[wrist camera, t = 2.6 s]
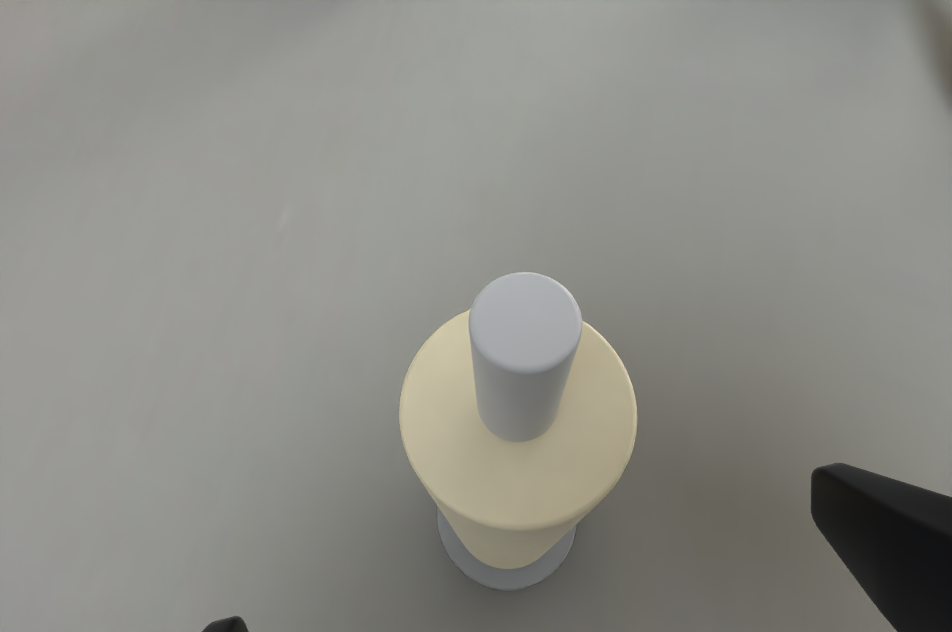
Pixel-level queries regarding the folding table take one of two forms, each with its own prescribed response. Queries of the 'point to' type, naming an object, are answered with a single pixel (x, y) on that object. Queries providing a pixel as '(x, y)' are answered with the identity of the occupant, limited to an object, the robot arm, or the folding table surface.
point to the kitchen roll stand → (516, 428)
